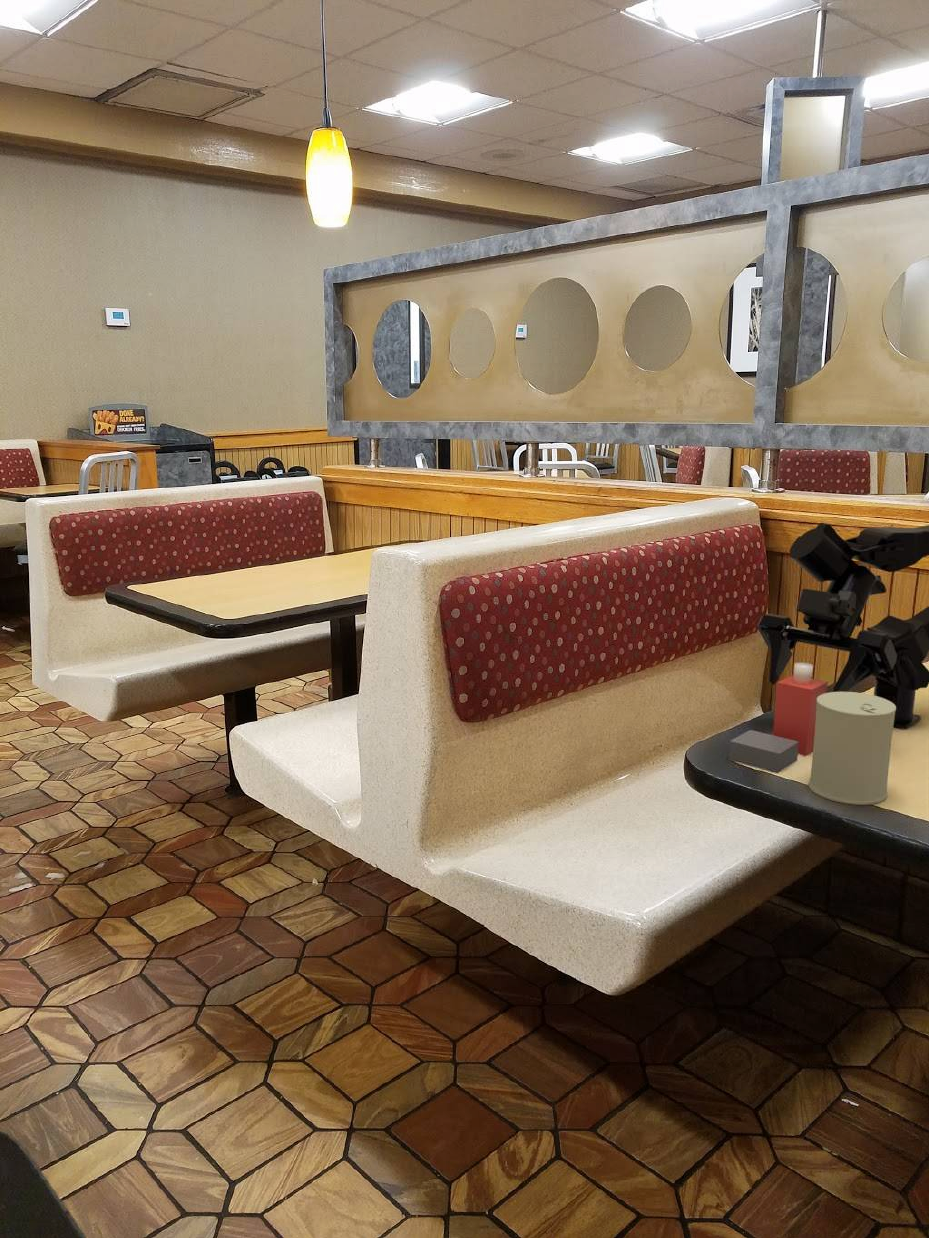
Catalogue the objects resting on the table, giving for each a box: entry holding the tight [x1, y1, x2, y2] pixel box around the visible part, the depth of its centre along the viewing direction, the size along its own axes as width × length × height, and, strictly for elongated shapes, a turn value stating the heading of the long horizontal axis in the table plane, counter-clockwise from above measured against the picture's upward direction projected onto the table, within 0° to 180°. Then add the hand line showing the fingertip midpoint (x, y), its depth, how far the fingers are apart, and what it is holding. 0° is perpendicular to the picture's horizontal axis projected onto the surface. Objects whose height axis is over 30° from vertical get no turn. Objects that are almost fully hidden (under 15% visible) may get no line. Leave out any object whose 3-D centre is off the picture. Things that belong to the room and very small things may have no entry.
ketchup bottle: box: [772, 662, 829, 757], centre depth 135 cm, size 5×5×12 cm
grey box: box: [728, 729, 799, 774], centre depth 131 cm, size 6×7×3 cm
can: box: [808, 691, 896, 806], centre depth 120 cm, size 9×9×12 cm
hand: (801, 690), depth 135 cm, fingers open, 9 cm apart
